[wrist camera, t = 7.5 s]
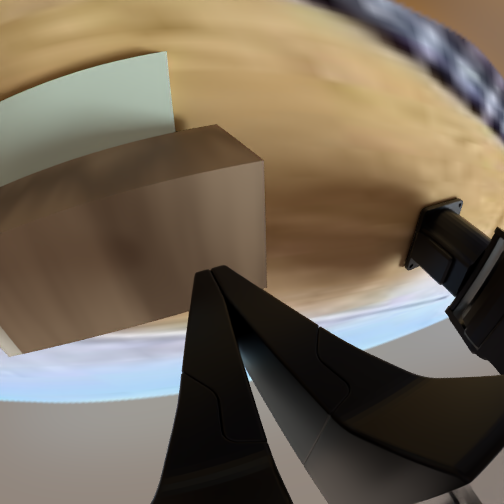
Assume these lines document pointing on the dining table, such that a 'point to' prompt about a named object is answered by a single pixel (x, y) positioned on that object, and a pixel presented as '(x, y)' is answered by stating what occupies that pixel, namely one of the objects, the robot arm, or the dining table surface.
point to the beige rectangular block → (126, 235)
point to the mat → (84, 114)
